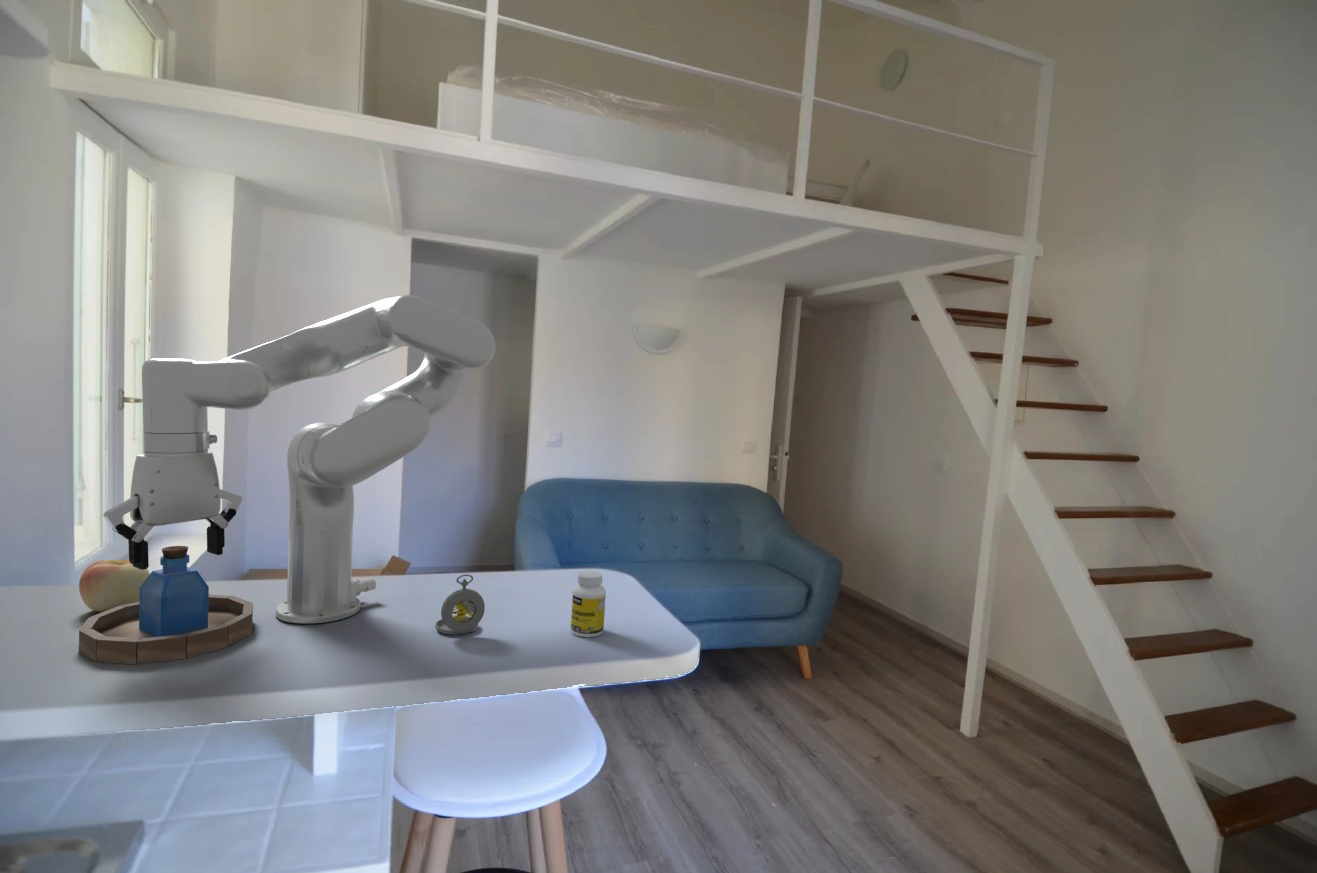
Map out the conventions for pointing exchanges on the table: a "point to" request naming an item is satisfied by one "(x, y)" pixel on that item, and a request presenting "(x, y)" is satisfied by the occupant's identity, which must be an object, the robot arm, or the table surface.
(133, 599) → the apple
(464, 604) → the pocket watch
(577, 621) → the supplement bottle
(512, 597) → the table surface
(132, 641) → the walnut tray
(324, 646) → the table surface
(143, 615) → the perfume bottle
